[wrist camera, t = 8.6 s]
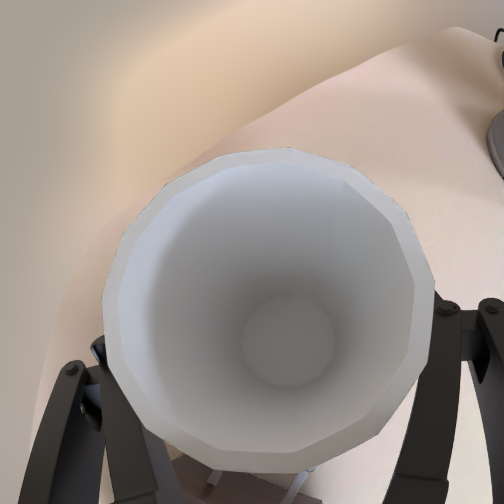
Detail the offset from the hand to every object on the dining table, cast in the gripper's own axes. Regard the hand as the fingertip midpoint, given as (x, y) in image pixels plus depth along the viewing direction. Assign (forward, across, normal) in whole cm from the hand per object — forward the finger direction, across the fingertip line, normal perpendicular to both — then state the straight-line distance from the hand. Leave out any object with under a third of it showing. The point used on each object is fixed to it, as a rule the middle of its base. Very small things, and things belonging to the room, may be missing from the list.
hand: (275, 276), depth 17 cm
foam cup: (+1, 0, -6) cm, 6 cm away
